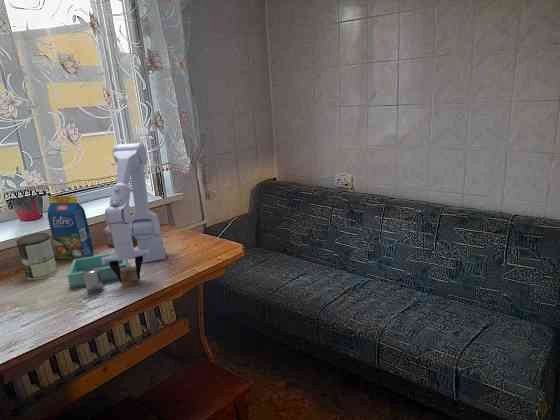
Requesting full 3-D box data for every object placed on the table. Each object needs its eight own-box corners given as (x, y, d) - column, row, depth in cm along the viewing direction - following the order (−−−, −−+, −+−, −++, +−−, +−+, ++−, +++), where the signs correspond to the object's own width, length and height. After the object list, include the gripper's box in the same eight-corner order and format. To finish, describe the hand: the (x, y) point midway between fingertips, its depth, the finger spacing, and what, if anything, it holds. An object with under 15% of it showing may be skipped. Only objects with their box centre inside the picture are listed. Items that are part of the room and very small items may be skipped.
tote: (128, 263, 156) (126, 250, 155) (127, 278, 144) (125, 264, 142) (76, 272, 151) (73, 259, 150) (70, 289, 138) (67, 275, 137)
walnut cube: (138, 279, 142) (136, 265, 141) (138, 285, 138) (136, 271, 136) (123, 282, 141) (120, 268, 139) (122, 288, 136) (120, 274, 135)
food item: (104, 247, 175) (99, 225, 172) (115, 240, 182) (111, 218, 179) (133, 248, 171) (129, 225, 168) (143, 241, 179) (139, 219, 176)
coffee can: (19, 280, 148) (9, 243, 144) (36, 268, 157) (27, 233, 153) (47, 279, 147) (38, 242, 143) (63, 267, 157) (54, 231, 153)
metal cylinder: (104, 285, 139) (100, 266, 137) (103, 292, 135) (99, 272, 133) (88, 288, 138) (83, 269, 136) (86, 295, 133) (81, 275, 131)
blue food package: (68, 253, 170) (54, 194, 163) (94, 254, 168) (81, 193, 161) (57, 259, 164) (42, 198, 157) (84, 260, 162) (70, 198, 155)
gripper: (97, 249, 129) (106, 289, 133) (146, 241, 133) (153, 280, 137) (99, 242, 136) (107, 280, 140) (145, 234, 140) (152, 271, 144)
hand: (130, 279), depth 139 cm, fingers closed on walnut cube, 5 cm apart
